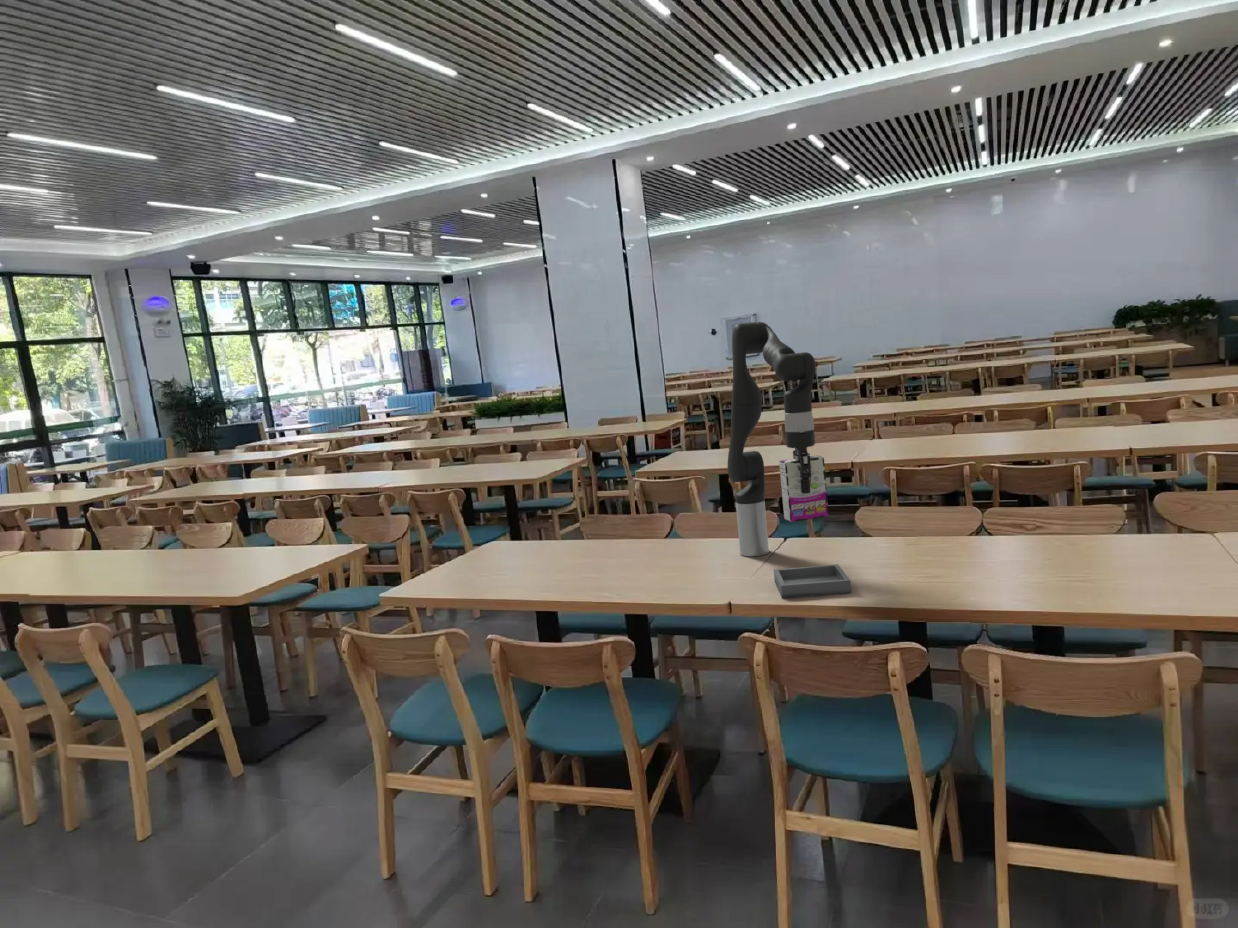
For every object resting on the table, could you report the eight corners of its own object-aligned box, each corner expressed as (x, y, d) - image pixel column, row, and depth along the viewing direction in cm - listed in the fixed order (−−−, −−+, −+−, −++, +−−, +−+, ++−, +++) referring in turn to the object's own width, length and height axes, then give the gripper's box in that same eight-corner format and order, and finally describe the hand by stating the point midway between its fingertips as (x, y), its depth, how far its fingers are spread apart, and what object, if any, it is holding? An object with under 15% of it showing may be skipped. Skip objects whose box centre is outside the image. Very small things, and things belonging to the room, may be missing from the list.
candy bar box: (821, 513, 219) (816, 454, 216) (829, 517, 214) (825, 456, 212) (782, 519, 217) (778, 459, 214) (790, 522, 212) (785, 461, 209)
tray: (774, 581, 226) (773, 569, 226) (839, 576, 225) (838, 564, 224) (781, 598, 210) (780, 585, 210) (851, 593, 209) (850, 580, 208)
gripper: (781, 427, 219) (786, 487, 222) (789, 432, 205) (793, 497, 207) (809, 424, 219) (813, 485, 221) (818, 430, 204) (823, 494, 207)
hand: (804, 490), depth 214 cm, fingers closed on candy bar box, 5 cm apart
